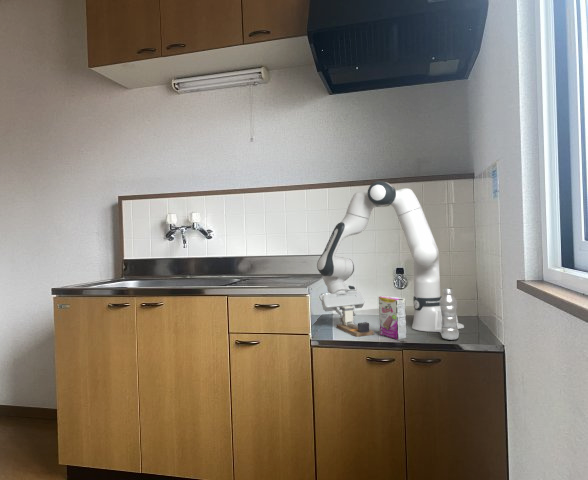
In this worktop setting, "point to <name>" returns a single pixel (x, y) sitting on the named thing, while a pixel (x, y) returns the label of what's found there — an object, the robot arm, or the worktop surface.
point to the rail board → (352, 329)
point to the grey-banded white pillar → (347, 314)
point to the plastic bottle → (449, 315)
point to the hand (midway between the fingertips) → (348, 315)
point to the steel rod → (359, 326)
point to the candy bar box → (392, 317)
